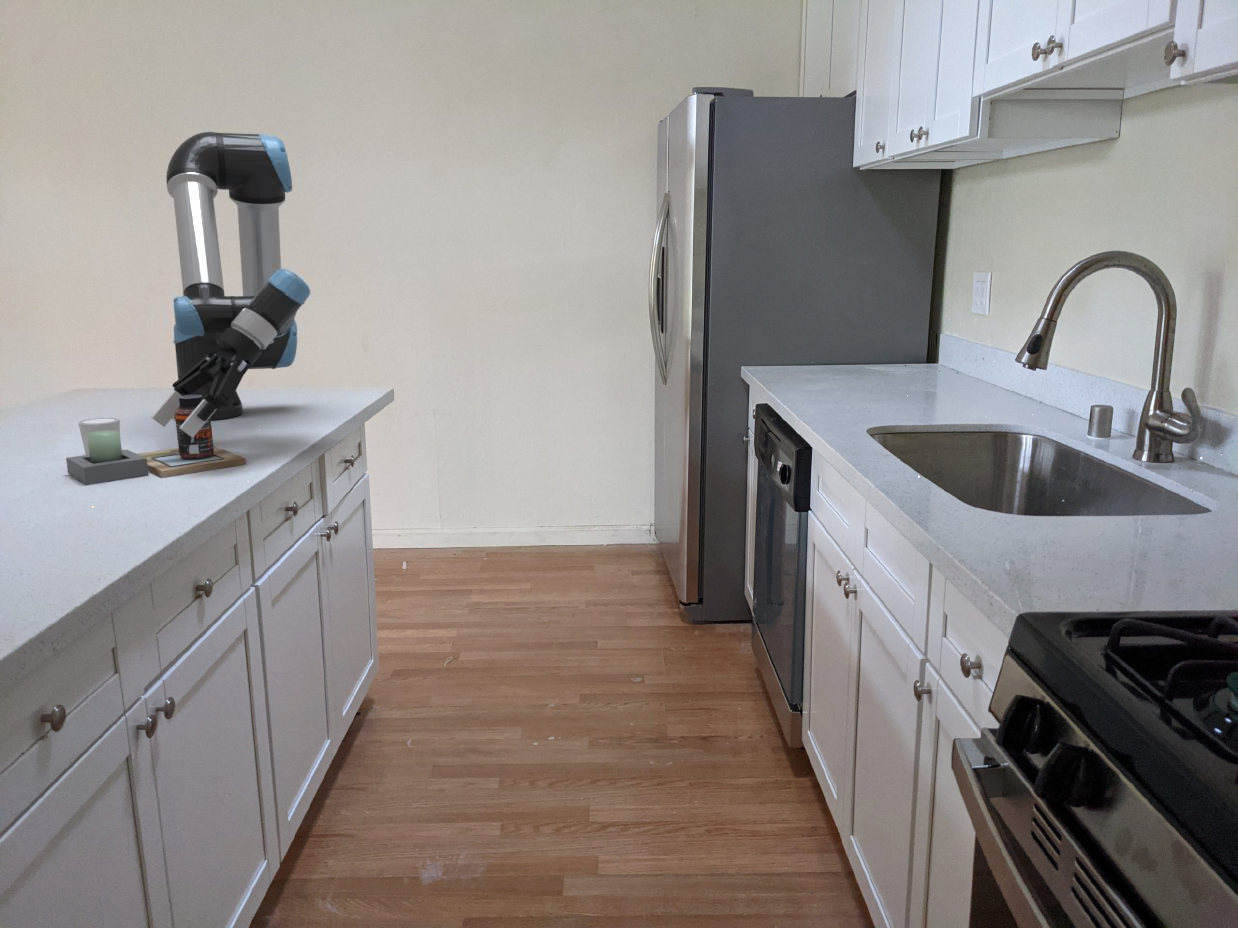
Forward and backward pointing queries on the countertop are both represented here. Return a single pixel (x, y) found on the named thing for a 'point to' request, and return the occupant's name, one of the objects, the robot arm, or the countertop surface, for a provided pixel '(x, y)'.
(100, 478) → the button housing
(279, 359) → the robot arm
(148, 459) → the board
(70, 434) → the countertop surface
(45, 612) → the countertop surface
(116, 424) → the shot glass
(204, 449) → the supplement bottle
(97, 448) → the button
